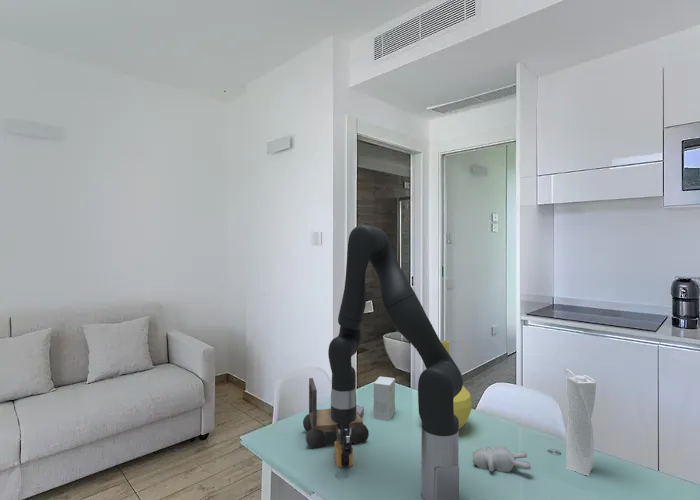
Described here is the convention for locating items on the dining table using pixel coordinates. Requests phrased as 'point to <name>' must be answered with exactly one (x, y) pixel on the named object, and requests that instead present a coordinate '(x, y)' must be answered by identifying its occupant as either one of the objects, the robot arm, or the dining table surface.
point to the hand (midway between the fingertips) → (343, 460)
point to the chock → (338, 455)
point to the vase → (461, 400)
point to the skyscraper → (580, 423)
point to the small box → (384, 398)
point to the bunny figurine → (499, 459)
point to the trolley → (327, 423)
